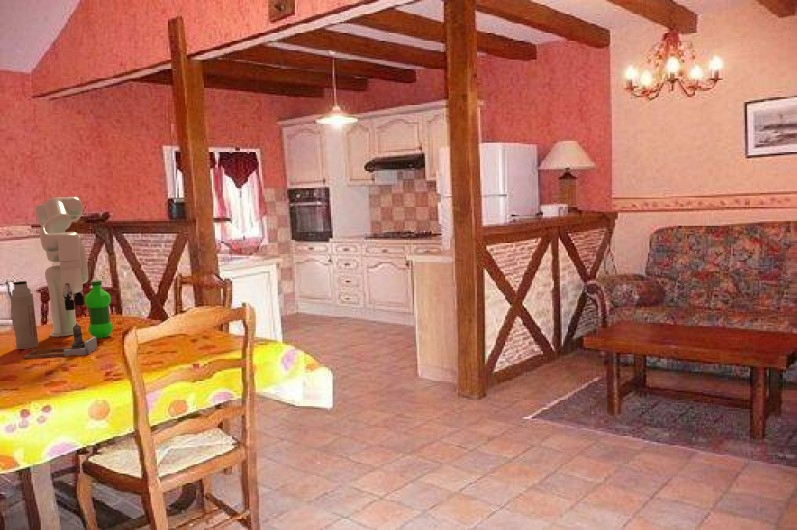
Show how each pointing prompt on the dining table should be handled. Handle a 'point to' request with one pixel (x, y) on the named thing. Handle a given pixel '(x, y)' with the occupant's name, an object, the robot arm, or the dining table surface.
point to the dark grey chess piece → (77, 338)
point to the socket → (89, 347)
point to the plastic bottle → (99, 310)
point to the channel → (31, 354)
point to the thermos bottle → (24, 316)
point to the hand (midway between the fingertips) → (75, 307)
